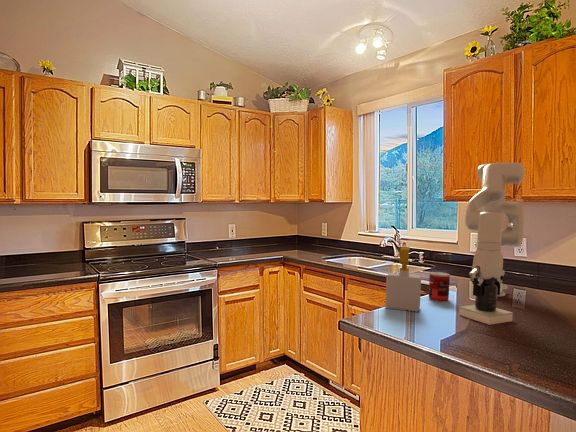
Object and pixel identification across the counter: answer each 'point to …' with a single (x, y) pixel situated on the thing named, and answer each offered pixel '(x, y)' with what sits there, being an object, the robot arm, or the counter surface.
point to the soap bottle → (403, 287)
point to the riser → (486, 315)
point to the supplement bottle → (487, 296)
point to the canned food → (439, 286)
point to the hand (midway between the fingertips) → (486, 295)
